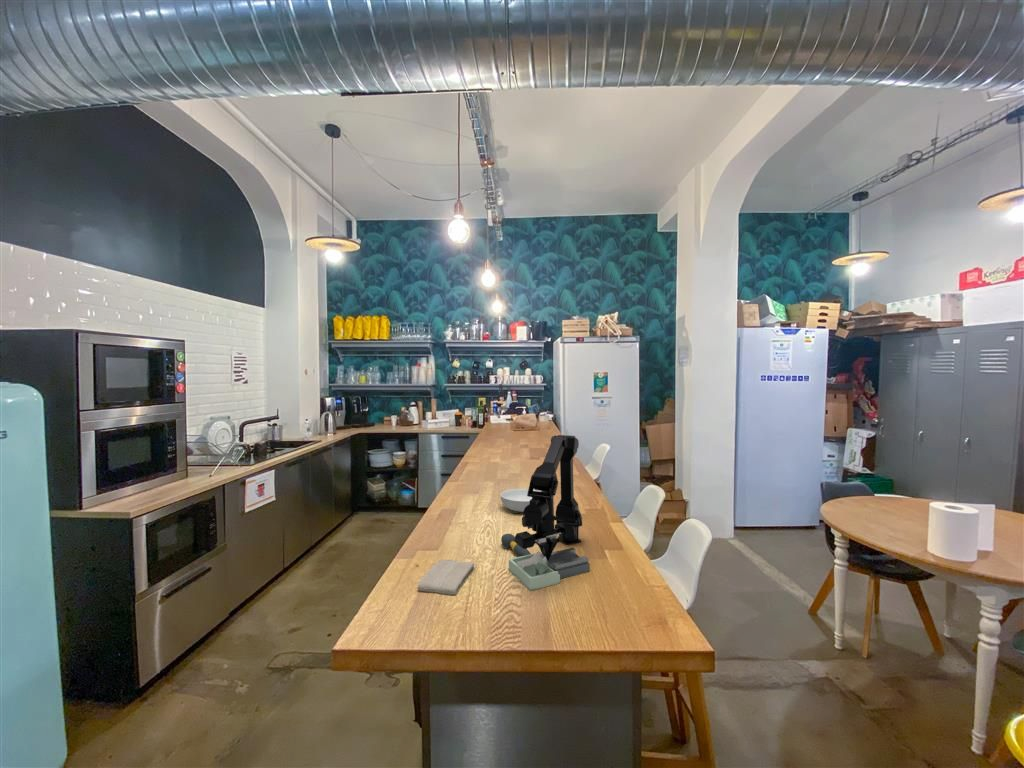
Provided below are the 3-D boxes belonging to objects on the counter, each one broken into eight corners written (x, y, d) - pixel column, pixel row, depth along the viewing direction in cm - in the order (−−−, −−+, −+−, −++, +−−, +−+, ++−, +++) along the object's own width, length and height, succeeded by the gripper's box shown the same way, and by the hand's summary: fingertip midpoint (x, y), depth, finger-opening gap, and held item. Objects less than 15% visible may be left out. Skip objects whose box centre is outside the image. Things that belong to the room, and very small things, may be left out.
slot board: (571, 558, 140) (571, 546, 140) (589, 571, 131) (589, 558, 131) (540, 566, 135) (540, 553, 135) (557, 579, 126) (557, 566, 126)
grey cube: (543, 561, 132) (538, 551, 131) (550, 566, 129) (545, 556, 128) (533, 569, 131) (528, 559, 130) (540, 574, 127) (535, 564, 126)
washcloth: (475, 568, 134) (475, 559, 134) (456, 598, 116) (456, 587, 116) (440, 565, 137) (440, 555, 136) (416, 593, 119) (416, 582, 119)
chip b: (528, 558, 130) (517, 561, 128) (535, 563, 126) (523, 566, 124) (529, 571, 130) (517, 574, 128) (535, 576, 126) (524, 580, 125)
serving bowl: (548, 517, 181) (548, 501, 181) (499, 516, 181) (499, 501, 181) (544, 502, 202) (544, 488, 202) (501, 502, 202) (501, 487, 202)
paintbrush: (541, 561, 139) (541, 546, 139) (529, 565, 136) (529, 550, 136) (506, 542, 155) (506, 528, 154) (495, 545, 152) (495, 531, 151)
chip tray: (536, 563, 136) (536, 553, 136) (559, 582, 124) (559, 571, 124) (508, 570, 132) (508, 559, 132) (530, 590, 119) (530, 578, 119)
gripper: (555, 499, 141) (557, 545, 141) (506, 510, 132) (507, 558, 133) (575, 509, 131) (576, 558, 131) (522, 521, 122) (524, 573, 123)
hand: (546, 561), depth 130 cm, fingers closed, pressing on grey cube
